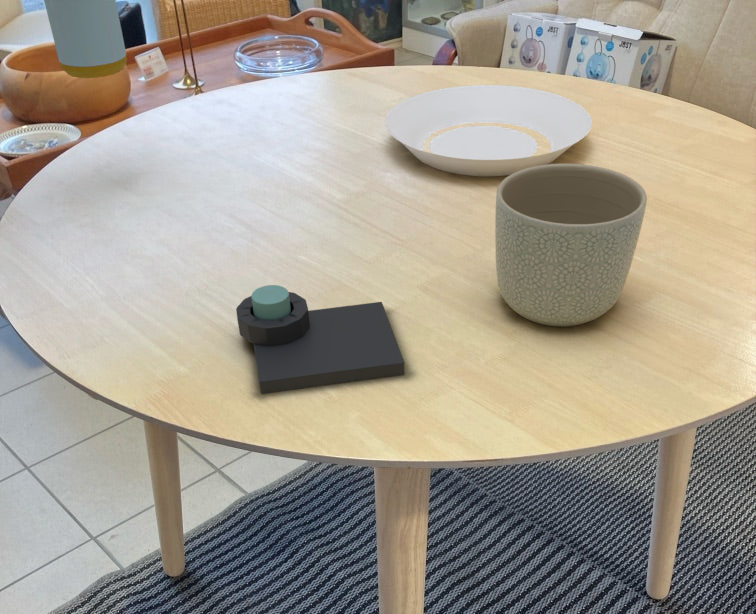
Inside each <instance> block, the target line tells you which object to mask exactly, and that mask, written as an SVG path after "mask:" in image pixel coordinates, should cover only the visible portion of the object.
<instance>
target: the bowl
mask: <svg viewBox="0 0 756 614" xmlns="http://www.w3.org/2000/svg"><path fill="white" fill-rule="evenodd" d="M479 123H483V124H484V123H486V124H487V123H488V124H489V123H492V124H506V125H511V126H516V127H517V126H518V127H522V128H525V129H529V130H531V131H535V132H536V133H538V134H540V135H542V136H543V137H544V138H546V139H547V140H548V142H549V144H550V151H549V152H547V153H543V154H538V155H535V154H536V153H537V151H538V150H539V149H538V147H539V144H538V141H537V140H535V138H534V137H532V136H531V135H530V134H529V133H526V132H524V131H521V130H517V129H514V128H509V127H505V126H497V125H496V126H495V125H470V126H463V127H458V128H453V129H449V128H451V127H456V126H460V125H468V124H479ZM384 124H385V128H386V130H387V131H388V133H389V134H390V136H391V137H393V138H394V139H395V140H396V141H398V142H400V143H401V144H402V145H403V146H404V147H405V148H406V149H407V150H408V151H409V152H410V153H411V154H412V155H413V156H414V157H415V158H416V159H418V160H419V161H420V162H422V163H423V164H425V165H427V166H429V167H431V168H433V169H436V170H439V171H443V172H446V173H451V174H456V175H462V176H470V177H503V176H504V177H505V176H509V175H511V174H513V173H515V172H518V171H520V170H523V169H526V168H530V167H535V166H540V165H548V164H552V163H553V162H554V161H555V160H557V159H558V158H559V157H560V156H561V155H563V154H564V153H565V152H566V151H567V150H569V149H570V148H571V147H572V146H573V145H575V144H577V143H578V142H580V141H581V140H582V139H583V138H585V137H586V136H587V135H588V134H589V133H590V131H591V130H592V126H593V119H592V116H591V114H590V113H589V111H588V110H587V109H586V108H584V107H583V105H581V104H579V103H577V101H574V100H572V99H570V98H567V97H565V96H563V95H560V94H557V93H553V92H550V91H546V90H543V89H542V90H541V89H537V88H533V87H532V88H531V87H525V86H517V85H505V84H501V85H500V84H471V85H459V86H449V87H444V88H439V89H435V90H429V91H426V92H422V93H419V94H416V95H414V96H413V95H412V96H411V97H409V98H406V99H404V100H402V101H400V102H399V103H397V104H396V105H394V106H393V107H392V108H391V109H390V110H389V111H388V113H387V114H386V117H385V120H384ZM444 129H449V130H447V131H444V132H441V133H440V134H437V135H436V136H435V137H434V138H432V139H431V140H430V141H431V142H430V143H429V149H430V151H431V152H428V151H425V150H424V145H425V142H426V141H427V139H429V137H432V135H434V134H435V133H437V132H440V131H441V130H444Z"/></svg>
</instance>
